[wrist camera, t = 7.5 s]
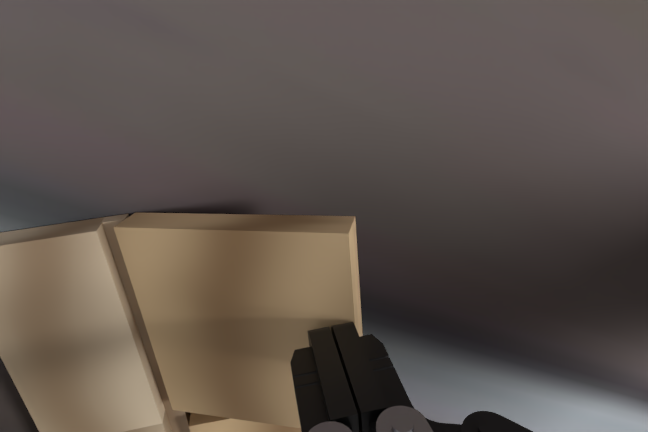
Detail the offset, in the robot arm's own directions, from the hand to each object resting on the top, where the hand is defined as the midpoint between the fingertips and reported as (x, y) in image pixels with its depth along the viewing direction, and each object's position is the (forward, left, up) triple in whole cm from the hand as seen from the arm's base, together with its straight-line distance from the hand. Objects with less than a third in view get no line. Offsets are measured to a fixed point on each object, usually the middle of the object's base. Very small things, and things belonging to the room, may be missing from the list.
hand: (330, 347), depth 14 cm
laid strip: (+9, +5, -4) cm, 11 cm away
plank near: (+2, 0, -3) cm, 3 cm away
